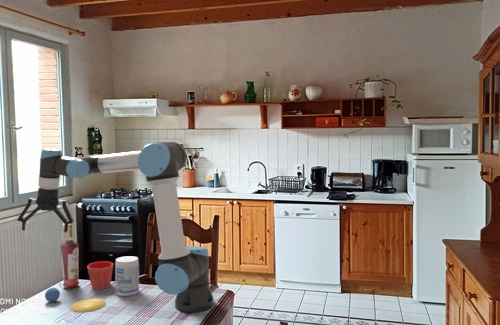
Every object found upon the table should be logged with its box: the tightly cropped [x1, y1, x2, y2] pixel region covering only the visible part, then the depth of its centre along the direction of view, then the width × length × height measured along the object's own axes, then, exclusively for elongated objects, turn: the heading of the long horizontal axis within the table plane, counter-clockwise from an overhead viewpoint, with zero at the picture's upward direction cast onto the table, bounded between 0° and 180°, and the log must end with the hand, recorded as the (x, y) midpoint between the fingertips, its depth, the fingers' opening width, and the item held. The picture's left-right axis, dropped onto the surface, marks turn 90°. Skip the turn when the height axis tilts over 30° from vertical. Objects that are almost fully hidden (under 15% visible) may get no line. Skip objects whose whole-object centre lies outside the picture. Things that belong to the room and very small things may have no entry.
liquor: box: [60, 223, 80, 290], centre depth 194 cm, size 7×7×28 cm
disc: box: [70, 298, 107, 313], centre depth 173 cm, size 13×13×1 cm
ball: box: [44, 287, 61, 303], centre depth 177 cm, size 6×6×6 cm
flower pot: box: [86, 260, 114, 290], centre depth 195 cm, size 11×11×10 cm
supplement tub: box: [114, 255, 140, 297], centre depth 186 cm, size 10×10×15 cm
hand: (44, 239), depth 176 cm, fingers open, 13 cm apart
